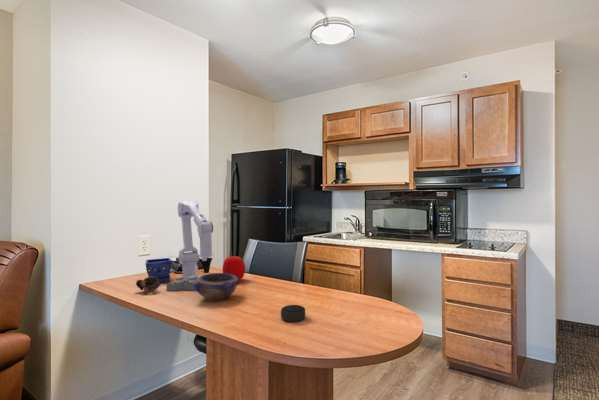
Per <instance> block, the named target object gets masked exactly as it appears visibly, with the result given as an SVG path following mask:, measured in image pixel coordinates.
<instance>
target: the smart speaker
mask: <svg viewBox="0 0 599 400" xmlns="http://www.w3.org/2000/svg"><path fill="white" fill-rule="evenodd" d="M280 318H281V320H282V321H284V322H288V323H297V322H301V321H303V320H304V319H306V308H305V307H304V306H303V305H299V304H289V305H285V306H283V307H282V308H281V309H280Z"/></svg>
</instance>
